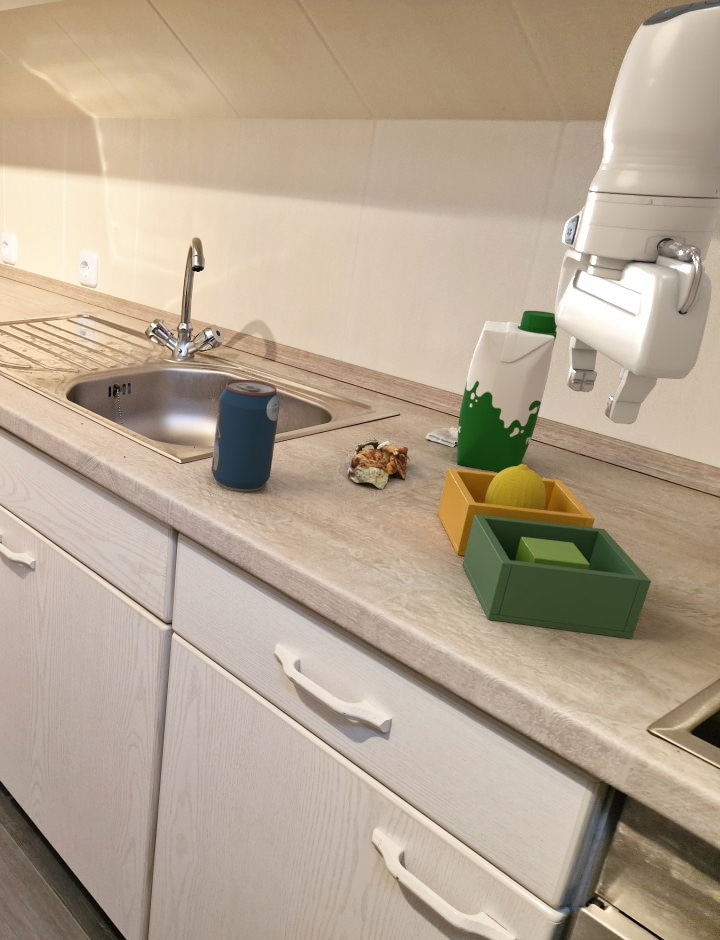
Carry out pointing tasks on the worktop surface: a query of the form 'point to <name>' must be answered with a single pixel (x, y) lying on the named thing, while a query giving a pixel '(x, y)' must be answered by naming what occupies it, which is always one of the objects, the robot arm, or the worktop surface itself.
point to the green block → (550, 553)
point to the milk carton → (505, 391)
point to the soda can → (245, 435)
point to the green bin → (554, 578)
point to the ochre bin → (468, 499)
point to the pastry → (377, 462)
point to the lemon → (517, 488)
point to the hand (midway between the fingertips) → (597, 404)
